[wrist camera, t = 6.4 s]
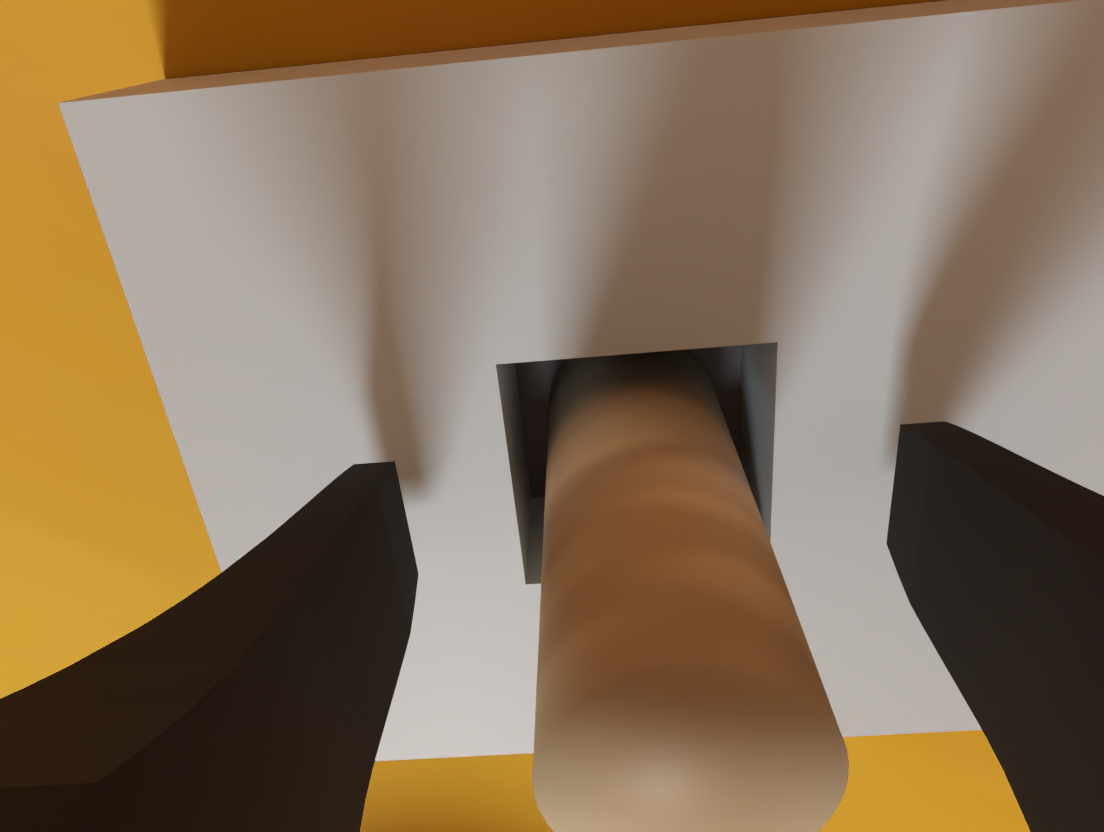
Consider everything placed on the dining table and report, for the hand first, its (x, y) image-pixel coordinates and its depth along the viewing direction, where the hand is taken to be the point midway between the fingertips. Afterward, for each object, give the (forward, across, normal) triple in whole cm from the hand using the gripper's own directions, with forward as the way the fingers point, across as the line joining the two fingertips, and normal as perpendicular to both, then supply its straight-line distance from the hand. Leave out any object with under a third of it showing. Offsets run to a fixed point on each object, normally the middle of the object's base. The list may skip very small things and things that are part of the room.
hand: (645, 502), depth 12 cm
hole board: (+4, -1, 0) cm, 4 cm away
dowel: (+3, 0, 0) cm, 3 cm away
